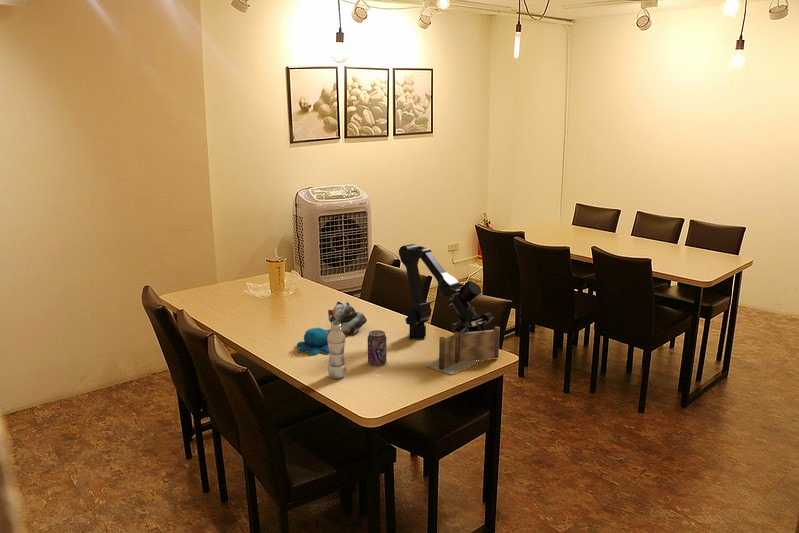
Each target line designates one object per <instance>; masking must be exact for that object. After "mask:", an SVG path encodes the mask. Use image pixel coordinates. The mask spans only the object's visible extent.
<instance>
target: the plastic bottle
mask: <svg viewBox="0 0 799 533" xmlns="http://www.w3.org/2000/svg"><path fill="white" fill-rule="evenodd" d="M341 329H342V327H341V323H340V322H333V323H331V322H330V331H329V335H328V338H327V340H328V347H329V354H328V355H329V357H328V358H329V359H328V366H327V373H328V376H329V377H330V379H331V378H332V379H336V380H337V379H342V378H344V377H345V375H346V373H347V368H346V362H345V346H346V345H345V344H346V335H344V334H343V332H342V331H341Z"/></svg>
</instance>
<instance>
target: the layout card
mask: <svg viewBox="0 0 799 533" xmlns="http://www.w3.org/2000/svg"><path fill="white" fill-rule="evenodd" d="M482 360H484V359H481V360H479V361H478V360H477V361H476V360H472V361H462V362H459V361H458V363H455V364H453V365H451V366H448V367H446V368H444V369H443V370H441V369H439V359H437V360H436V361H433V362H431V363H428V364H427V365H426V367H427V368H429V369H432V370H436V371H438V372H440V371H441V373H443V372H444V373H443V374H446V373H447V374H446V375H449V374H450V375H449V376H453V375H455V373H456V374H457V372H458V373H459V371H460V372H462V371H464V370H466V369H465V368H467V367H469V366H471V367H473V366H474V364H475V365H477V364H479V363H478V362H480V361H482ZM484 361H485V360H484ZM482 362H483V361H482ZM476 363H477V364H476ZM480 363H481V362H480ZM472 365H473V366H472ZM469 368H470V367H469ZM463 369H464V370H463ZM467 369H468V368H467ZM461 370H462V371H461Z"/></svg>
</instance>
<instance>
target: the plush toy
mask: <svg viewBox="0 0 799 533" xmlns="http://www.w3.org/2000/svg"><path fill="white" fill-rule="evenodd" d="M329 333H330V331H328V330H326V329H324V328H322V327H311V328H310V329H308V330H306V331H305V333H304V335H303V341H298V342H297V344H296V348H297V347H298V353H299V352H300V353H299V354H306V353H308V352H309V353H308V354H309V356H317V355H319V353H322V354H323V355H325V354H326V356H327V355H329V347H328V340H327V338H328V335H329ZM305 352H306V353H305Z"/></svg>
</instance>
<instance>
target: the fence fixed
mask: <svg viewBox="0 0 799 533" xmlns="http://www.w3.org/2000/svg"><path fill="white" fill-rule="evenodd" d="M438 344H439V347H438V348H439V351H438V352H439V353H438V360H439V369H441V370H443V369H444V368H446V367H448V366H451V365H453V364H455V363H458V358H459V332H458V331H455V332H454V331H453V334H452V335H449V336H447V337H445V336H440V337H439V343H438Z"/></svg>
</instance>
